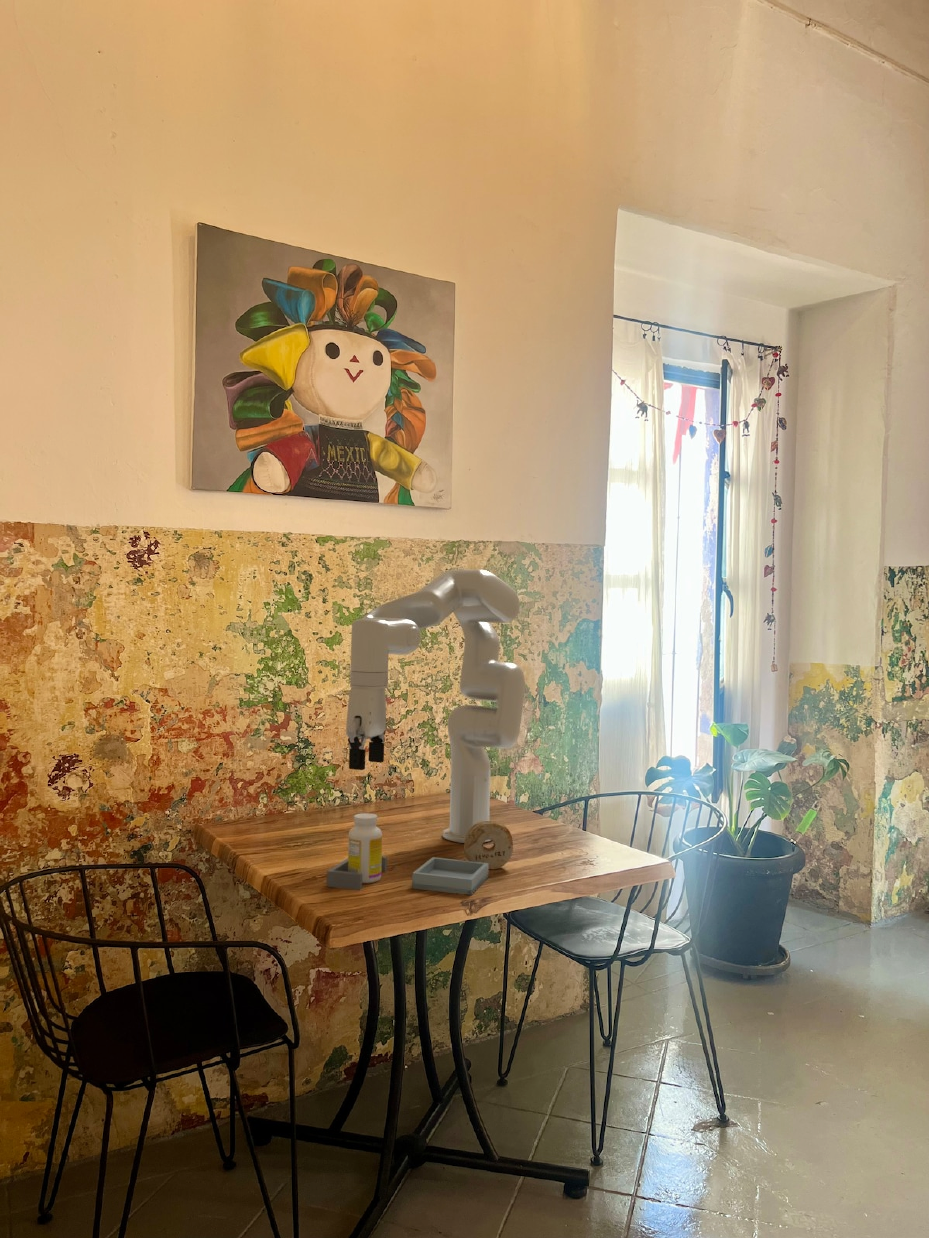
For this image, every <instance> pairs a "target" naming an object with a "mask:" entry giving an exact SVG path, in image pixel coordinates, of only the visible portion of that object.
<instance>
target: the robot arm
mask: <svg viewBox="0 0 929 1238" xmlns="http://www.w3.org/2000/svg"><path fill="white" fill-rule="evenodd" d="M520 607H521V604H520V597H519V596H518V593H517V592H516V591H515V589H514V588H513V587H512V586H510V585H509V584H508V583H506V582H505V581H503V579H501V578H500V577H498V576H497V575H495V574H494V573H492V572H489V571H487V570H484V569H460V568H459V569H457V568H456V569H450V570H449V569H448V570H446V571H444V572H442V573H441V574H439V575H438V576H437V577H436V578H434V579H432V580H431V581H430V582H429V583H427V584H426V585H425V586H424V587H422V588H421V589H419V590H418V591H416V592H414V593H409V594H407V595H405V596H401V597H399V598H396V599H393V600H391V601H388V602H385V603H382V604H380V605H378V606H376V607H374V608H373V609H372V610H371V611H369V612H368V613H366V614H364V615H363V617H362V618H358V619H354V621H353V622H352V625H351V637H350V638H351V639H350V640H351V641H350V673H349V676H350V677H349V688H350V691H349V697H348V703H347V712H346V715H347V716H346V726H345V727H346V728H345V732H346V733H345V735H346V736H347V737H348V738H347V741H348V749H349V750H348V754H349V755H348V756H349V757H348V768H349V770H357V771H364V770H365V769H366V749H365V745H366V742H367V739H369V740H370V741H369V742H368V762H370V763H380V764H382V763H384V761H385V741H386V737H385V735H386V731H387V730H386V727H387V722H388V721H387V698H386V697H387V696H386V689H388V683H389V655H395V656H396V655H399V656H405V655H410V654H412V653H414V652H415V651H416V650H417V649H418V647H419V646H420V645H421V641H422V633H421V629H427V628H431V627H435V626H437V625H439V624H441V623H442V622H443V621H444V620H445V619H447V618H448V617H450V616H451V614H454V616H455V618H456V620H457V622H458V623H459V625H460V628H461V630H462V633H463V637H464V647H463V657H462V664H461V671H460V680H459V681H460V682H459V687H460V689H459V691H460V693H461V694H462V696H464V697H465V698H467V699H470V700H474V701H475V700H476V701H484V702H485V701H486V702H493V703H496V702H497V706H496V707H493V706H485V705H474V704H464V705H463V704H462V705H459V706H457V707H455V708H454V709H452V711H451V712H450V714H449V716H448V719H447V732H448V737H449V744H450V745H449V747H450V791H449V792H450V794H449V795H450V796H449V798H450V800H449V802H450V803H449V827H448V828H445V829H444V830H443V831H442V838H444V839H445V840H447V841H451V842H453V843H454V842H455V843H462V844H464V843H465V838H466V835H467V832H468V831H469V829H470V828H471V827H472V826H473V825H475V824H476V823H478V822H483V821H490V809H491V808H490V803H491V774H492V773H491V772H492V771H491V768H492V767H491V760H490V758H489V755H488V753H487V751H486V749H485V748H489V749H490V748H492V749H499V750H500V749H502V750H503V749H504V750H506V749H510V748H513V747H514V746H515V745H516V743H517V742H518V739H519V736H520V730H521V724H522V717H523V708H524V702H525V701H524V700H525V699H524V698H525V693H526V692H525V689H526V681H525V679H526V678H525V675H524V672H523V670H522V669H521V666H519V665H518V664H517V663H516V664H515V663H513V662H506V661H504V662H503V661H499V655H500V643H501V642H500V639H499V637H498V634H497V632H496V630H495V628H494V626H493V625H492V624H491V623H493V624H494V623H496V624H508V623H511V622H512V621H514V620H515V619H516V618H517V616H518V614H519V613H520ZM491 841H492V840H490V839H488V840H485V841H484V843H488V842H491Z"/></svg>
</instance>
